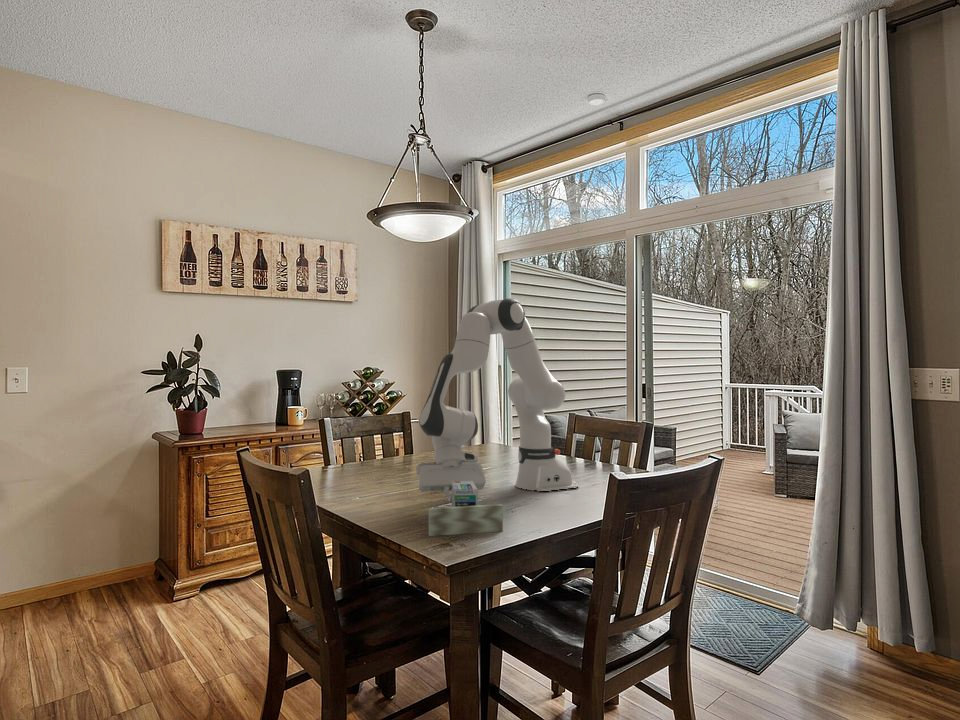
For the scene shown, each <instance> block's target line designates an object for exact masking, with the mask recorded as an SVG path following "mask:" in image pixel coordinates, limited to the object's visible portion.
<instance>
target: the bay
mask: <svg viewBox="0 0 960 720" xmlns="http://www.w3.org/2000/svg"><path fill="white" fill-rule="evenodd" d="M503 517H504V505H503V504H502V503H496V504H493V503H492V504H481V503H480V502H478V505H475V506H458V507H452V506H442V507H440V506H439V505H433V507H428V536H429V537H436V536H438V537H439V536H452V535H453V536H454V535H467V534H481V533H482V534H483V533H495V532H498V533H499V532H503V531H504V529H503V527H504V526H503V525H504V523H503V522H504V520H503V519H504V518H503Z"/></svg>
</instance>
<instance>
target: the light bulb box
mask: <svg viewBox="0 0 960 720" xmlns="http://www.w3.org/2000/svg"><path fill="white" fill-rule="evenodd" d="M451 495H452V503H451V507H458V506H475V505H478V503H479V489H478V488H477V487H476V486H475V484H474V481H452V490H451Z"/></svg>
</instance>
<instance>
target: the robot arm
mask: <svg viewBox="0 0 960 720" xmlns="http://www.w3.org/2000/svg"><path fill="white" fill-rule="evenodd" d="M525 312H526V311H525V309H524V307H523V304H521V302H519V300H517V299H515V298H504V299H496V300H491V301H488V302H484V303H481V304H476V305H474V306H472V307H471V308H470V309H469V310H468V311H467V312H466V313H465V314H464V315H463V316H462V318H461V320H460V323H459V326H458V329H457V334H456V336H455V337H456V338H455V342H454V346H453V348H452V350H451V352H450V353H448V354H446V355H445V356H444V357H443V358H442V360H441V361H440V363H439V366H438V369H437V371H436V374H435V377H434V380H433V383H432V386H431V389H430V391H429V394H428V396H427V399H426V401H425V404H424V406H423V408H422V410H421V412H420V416H419V418H418V424H419V427H420V428H421V430H422V432H423V433H424V434H425V435H426V436H429V437H431V440H432V441H431V442H432V446H433V448H434V452H433V458H434V461H430V462H420V463H419V464H417V465H416V468H415V471H416V472H415V473H416V474H417V475H418V481H417V482H418V485H417V487H418V490H419V491H420V492H422V493H423V492H425V493H426V492H442V491H443V494H444V495H445V496H446V498H447V500H448V504H449V503H451V504H452V493H451V492H450V491H452V481H474V484H475V486H476V487H477V488H478V490H482V489H484V487H485V486H486V485H485V484H486V476H485V471H484V468H483V467H482V465H481V463H480V462H479V457H478V455H477V454H474V453H472V452H471V453H470V452H467V451H464V450H462V446H465V445H466V444H468V443H469V442H470V441H472V440H473V439H474V438H475V437H476V436H477V434H478V431H479V423H478V418H477V416H476V414H475V413H474V412H473V411H469V410H467V409H463V408H462V409H461V408H457V407H453V406H450V405H445V401H444V400H445V398H446V394H447V393H448V392H447V391H448V390H449V386H450V384H451V380H452V379H453V377H455V376H456V375H460V374H467V373H473V372H476V371H479V370H480V369H481V368H483V367H484V365H485V364H486V362H487V360H488V357H489V352H490V351H489V350H490V343H491V335H497V334H500V335H501V338H502V343H503V347H504V349H505V352H506V355H507V359H508V362H509V364H510V367H511V369H512V371H513V372H515V373H516V374H517V375H518V376H519V378H516V379H514V380H512V381H511V382H510V383H509V386H508V388H507V394H508V397H509V398H508V399H510V401H511V402H512V404H513V405H514V408H515V410H516V415H517V418H518V423H519V446H518V453H517V454H518V456H517V458H518V463H519V464H518V471H517V477H516V481H515V483H514V486H515V487H516V488H519V489H521V488H522V490H526V489H527V490H526V491H534V490H537V491H536V492H539V491H549V492H551V491H550V490H558V489H566V488H574V487H578V488H579V483H578V482H576V481H575V480H573V477H572V472H571V470H570V468H569V467H568V466H567V465H566V464H565V463H563V462H562V461H561V460H560V459H558V458H557V457H556V456H560V454H561V450H560V449H558V448H554V447H553V446H552V430H551V429H552V427H551V424H550V422H549V421H548V420H547V418H546V416H545V412H544V411H549V410H554V409H558V408H560V407H561V406H562V405H563V404H564V402H565V400H566V399H565V398H566V390H565V387H564V386H563V384H561V383H560V382H559V381H558V380H557V379H556V378H555V376H553V374H551V372H550V371H549V369H548V368H547V366H546V363H545V362H544V361H543V358H542V356H541V353H540V350H539V346H538V343H537V341H536V338H535V335H534V332H533V330H532V328H531V325H530V323H529V321H528V319H527V318H526V313H525ZM558 491H559V490H558Z"/></svg>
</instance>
